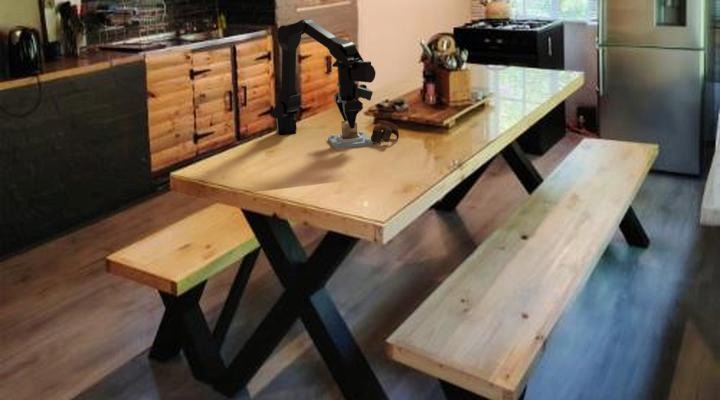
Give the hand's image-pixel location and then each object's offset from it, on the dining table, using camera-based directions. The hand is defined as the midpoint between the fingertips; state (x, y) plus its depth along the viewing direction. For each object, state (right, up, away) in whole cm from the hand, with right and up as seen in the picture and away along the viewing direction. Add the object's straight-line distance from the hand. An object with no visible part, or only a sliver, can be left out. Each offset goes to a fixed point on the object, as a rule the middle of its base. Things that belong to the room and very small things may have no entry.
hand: (349, 125), depth 259 cm
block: (0, -5, +2) cm, 5 cm away
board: (0, -6, +2) cm, 6 cm away
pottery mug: (+12, -6, +1) cm, 14 cm away
